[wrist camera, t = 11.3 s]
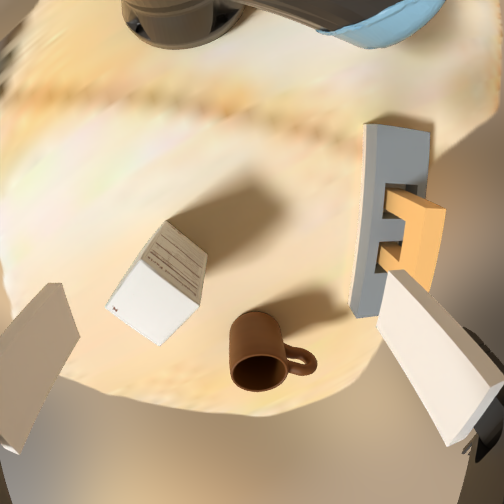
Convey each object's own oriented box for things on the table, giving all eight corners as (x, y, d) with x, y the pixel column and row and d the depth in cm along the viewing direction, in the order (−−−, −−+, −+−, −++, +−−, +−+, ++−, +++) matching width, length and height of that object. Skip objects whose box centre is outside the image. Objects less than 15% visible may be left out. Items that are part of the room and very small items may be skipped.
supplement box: (176, 290, 41) (158, 349, 29) (134, 257, 38) (101, 307, 27) (210, 254, 39) (202, 307, 27) (166, 217, 37) (138, 258, 25)
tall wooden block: (380, 187, 36) (425, 208, 26) (399, 188, 36) (446, 209, 26) (372, 257, 39) (408, 295, 30) (390, 256, 40) (428, 292, 30)
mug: (312, 312, 44) (329, 354, 35) (301, 350, 46) (313, 393, 38) (231, 307, 42) (232, 350, 34) (227, 347, 45) (227, 391, 36)
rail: (363, 124, 33) (377, 124, 30) (413, 131, 34) (430, 132, 30) (347, 303, 43) (356, 318, 40) (392, 298, 44) (403, 312, 40)
